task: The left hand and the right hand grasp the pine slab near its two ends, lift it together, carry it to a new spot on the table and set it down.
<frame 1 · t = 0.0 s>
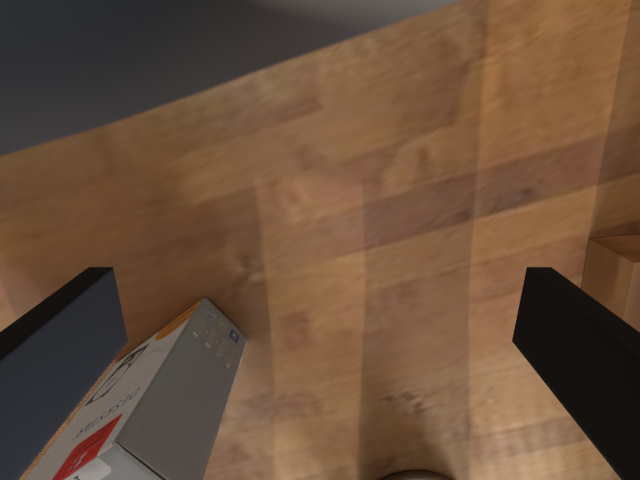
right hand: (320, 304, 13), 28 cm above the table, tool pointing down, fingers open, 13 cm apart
hard drive box: (181, 350, 46), on the table
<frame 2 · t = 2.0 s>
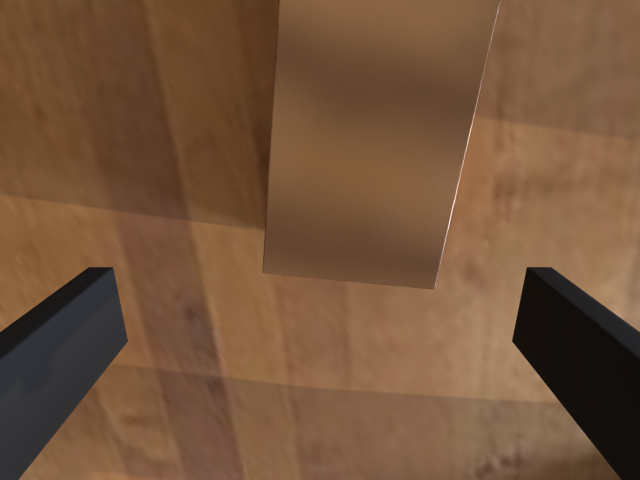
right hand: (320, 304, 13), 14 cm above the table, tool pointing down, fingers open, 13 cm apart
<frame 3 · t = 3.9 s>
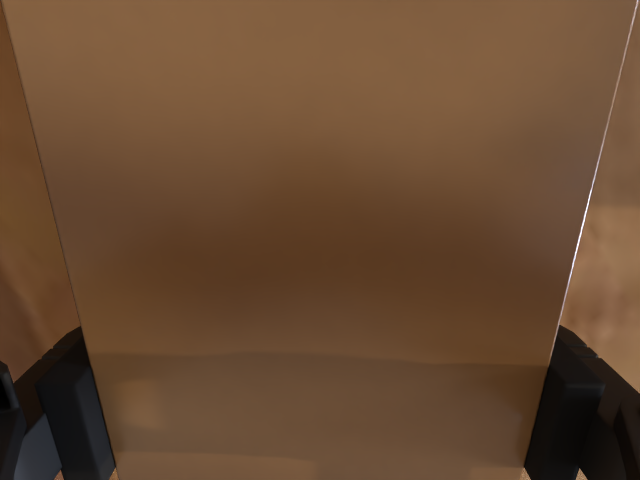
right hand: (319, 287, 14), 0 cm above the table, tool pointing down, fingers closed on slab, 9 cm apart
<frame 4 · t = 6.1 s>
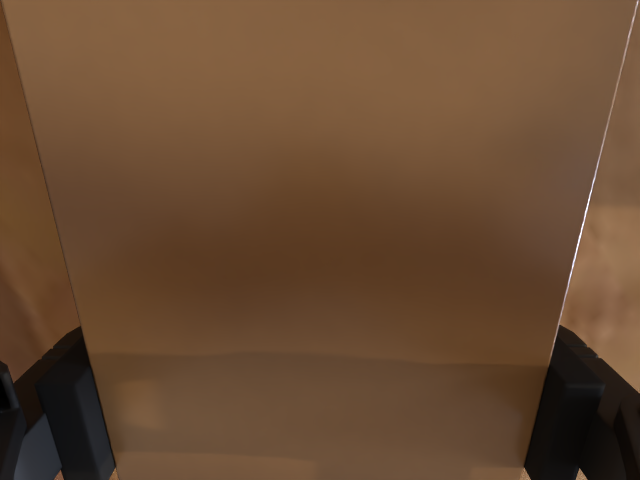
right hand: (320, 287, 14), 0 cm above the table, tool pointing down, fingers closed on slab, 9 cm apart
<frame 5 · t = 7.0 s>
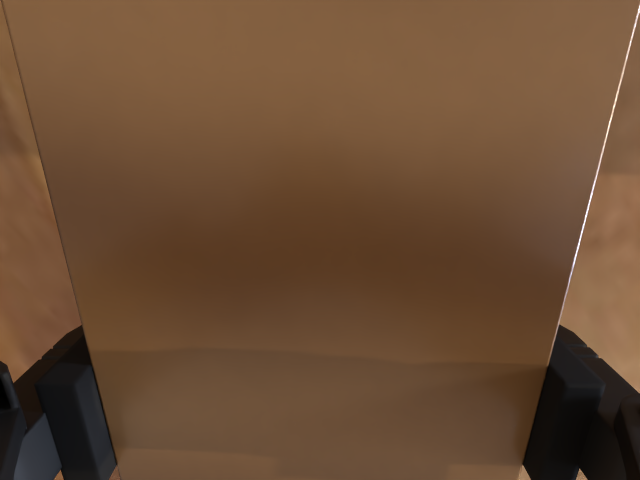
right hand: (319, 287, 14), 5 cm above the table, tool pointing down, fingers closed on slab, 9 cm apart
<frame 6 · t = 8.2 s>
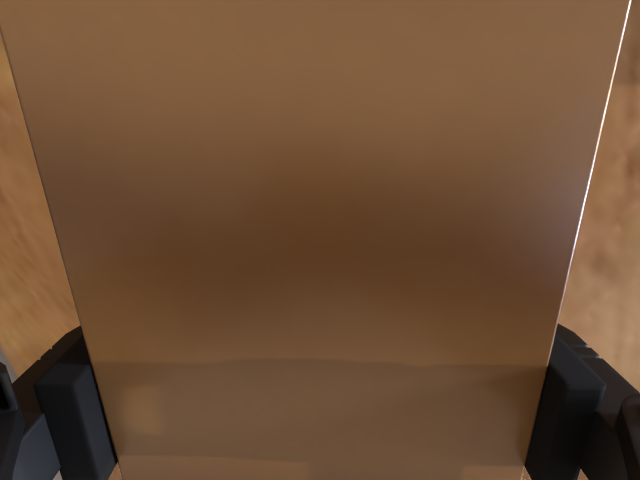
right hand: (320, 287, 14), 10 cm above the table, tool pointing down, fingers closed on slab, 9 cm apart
when the left hand's fingers open (2 cm above the table, at t = 10.3 s): slab drops 1 cm, on the table.
when the right hand's fingers open (2 cm above the table, at t = 10.3 s): slab drops 1 cm, on the table.
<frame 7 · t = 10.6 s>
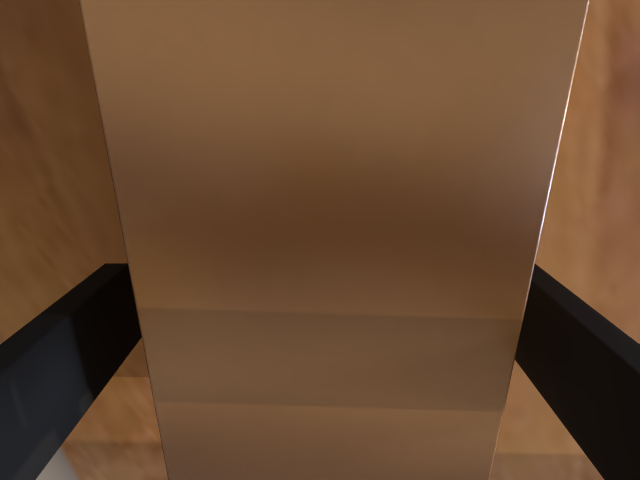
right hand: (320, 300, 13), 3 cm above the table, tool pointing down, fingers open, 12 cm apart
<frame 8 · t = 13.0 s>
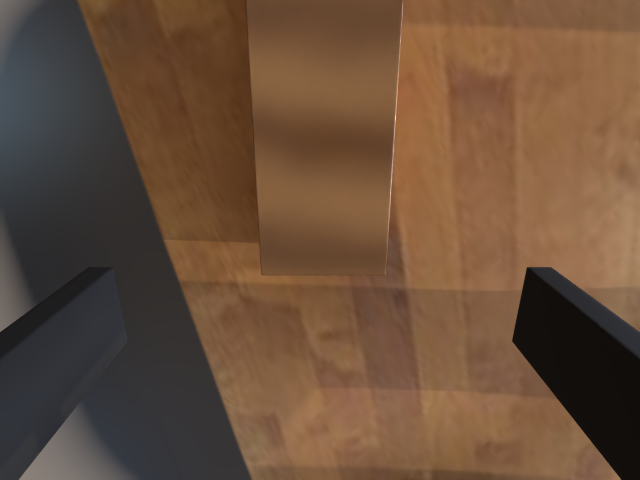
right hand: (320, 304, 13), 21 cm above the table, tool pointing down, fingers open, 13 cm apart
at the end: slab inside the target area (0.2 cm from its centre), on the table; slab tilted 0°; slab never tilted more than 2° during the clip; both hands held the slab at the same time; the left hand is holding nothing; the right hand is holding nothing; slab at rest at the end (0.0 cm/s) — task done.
